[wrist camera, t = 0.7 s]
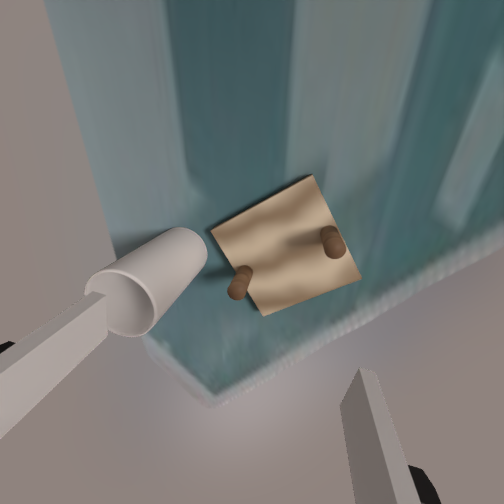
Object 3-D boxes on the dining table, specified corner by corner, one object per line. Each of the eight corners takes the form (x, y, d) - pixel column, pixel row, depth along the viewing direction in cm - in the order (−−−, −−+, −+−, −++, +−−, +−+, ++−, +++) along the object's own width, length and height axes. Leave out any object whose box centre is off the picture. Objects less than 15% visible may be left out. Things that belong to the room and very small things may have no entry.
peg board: (214, 227, 39) (194, 244, 32) (311, 173, 34) (315, 179, 26) (264, 309, 43) (257, 341, 35) (359, 272, 38) (373, 301, 30)
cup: (178, 281, 44) (117, 347, 29) (149, 241, 42) (68, 289, 27) (216, 261, 41) (171, 322, 26) (187, 217, 39) (120, 256, 24)
